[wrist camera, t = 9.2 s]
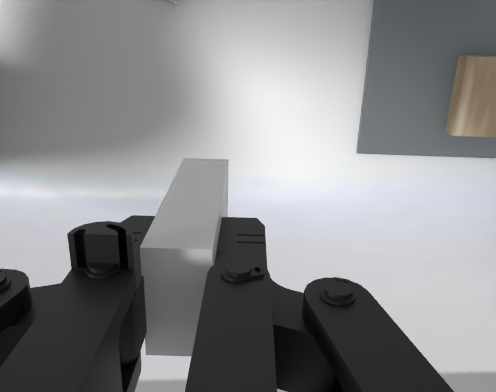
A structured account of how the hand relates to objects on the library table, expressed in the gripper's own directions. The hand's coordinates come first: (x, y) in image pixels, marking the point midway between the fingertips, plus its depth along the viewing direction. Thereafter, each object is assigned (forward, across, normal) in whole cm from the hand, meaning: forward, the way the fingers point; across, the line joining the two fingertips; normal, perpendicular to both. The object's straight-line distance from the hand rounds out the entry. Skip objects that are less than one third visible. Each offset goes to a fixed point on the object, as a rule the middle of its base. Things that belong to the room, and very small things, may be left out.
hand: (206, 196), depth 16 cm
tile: (+28, +20, 0) cm, 34 cm away
